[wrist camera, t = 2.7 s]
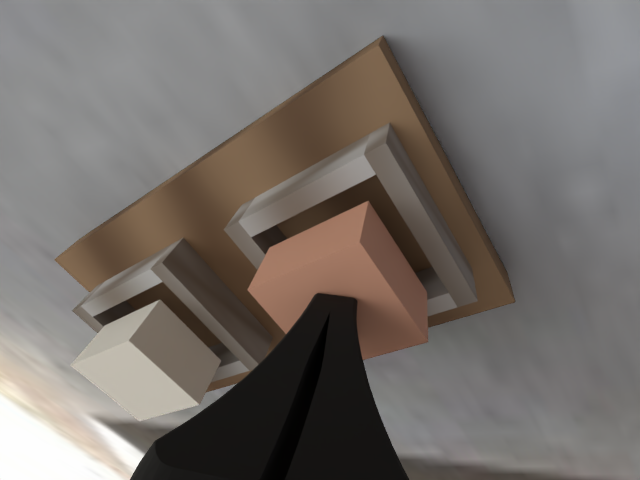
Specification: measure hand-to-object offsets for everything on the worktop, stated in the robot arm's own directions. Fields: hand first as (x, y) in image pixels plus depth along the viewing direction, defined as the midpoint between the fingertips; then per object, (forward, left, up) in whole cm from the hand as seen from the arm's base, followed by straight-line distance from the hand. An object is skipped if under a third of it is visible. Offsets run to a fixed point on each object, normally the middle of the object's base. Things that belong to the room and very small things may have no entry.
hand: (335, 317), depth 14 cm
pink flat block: (0, 0, -3) cm, 3 cm away
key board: (+2, +5, -7) cm, 9 cm away
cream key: (+3, +10, -3) cm, 11 cm away
